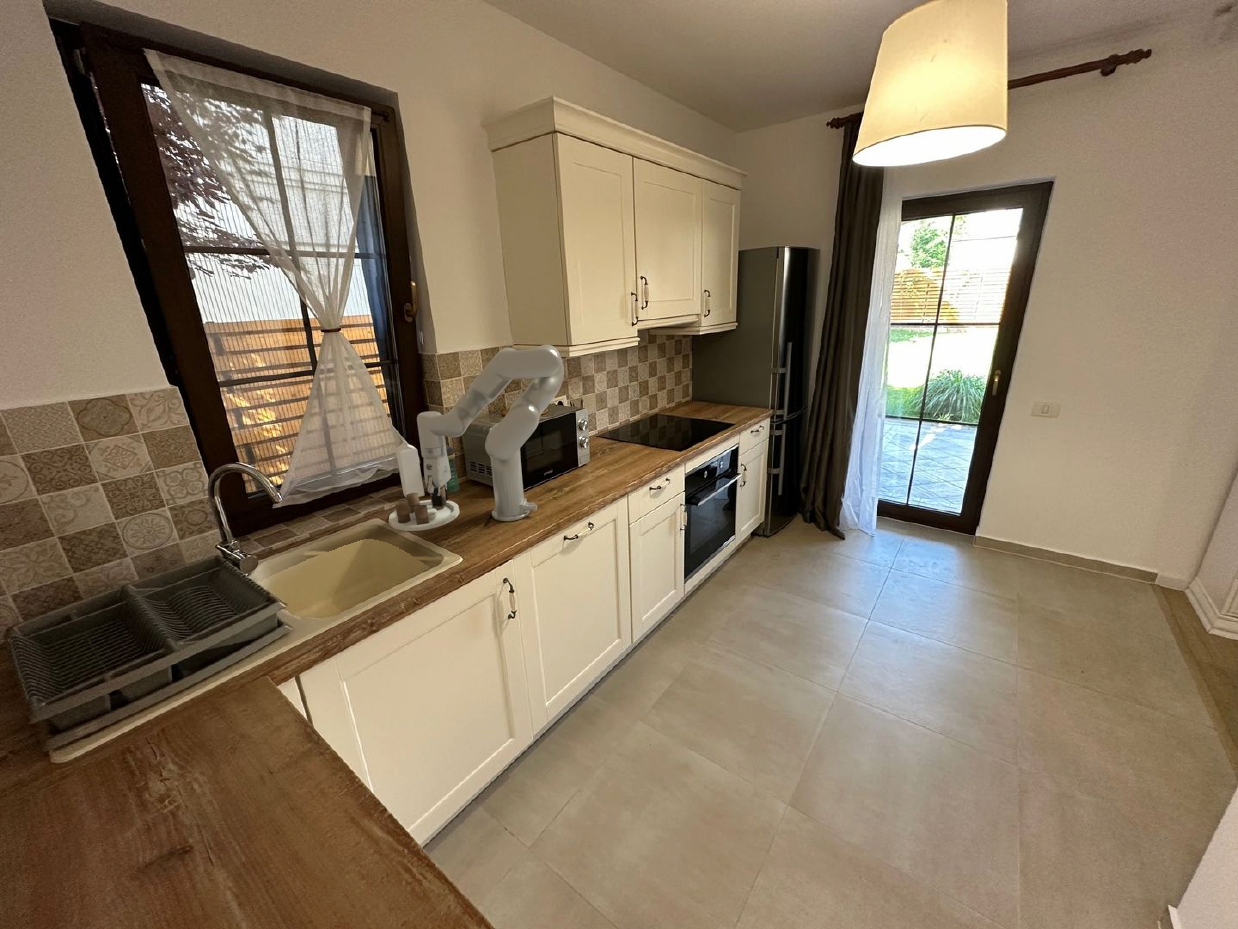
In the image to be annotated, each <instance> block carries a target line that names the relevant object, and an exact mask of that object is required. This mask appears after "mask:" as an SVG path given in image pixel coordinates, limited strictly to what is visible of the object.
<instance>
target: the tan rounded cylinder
mask: <svg viewBox="0 0 1238 929" xmlns="http://www.w3.org/2000/svg"><path fill="white" fill-rule="evenodd" d="M433 489H434V490H437V488H433ZM440 495H442V501H443V506H444V505H446V504H447V503H446V495H445V487H444V486H442V487H441V488H440Z"/></svg>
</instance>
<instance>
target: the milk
mask: <svg viewBox="0 0 1238 929" xmlns="http://www.w3.org/2000/svg"><path fill="white" fill-rule="evenodd" d="M395 453H396V457H397V458H396V459H397V464H398V470H399V476H400V481H401V487H402V492H403V495H404V497H405V498H406V495H407V494H409V493H418V496H419V498H420V497H424V496H425V490H424V484H423V478H422V477H423V476H422V472H421V471H422V470H421V466H420V458H419V454H418V453H419V452H418V449H417V448H416V447H415V446H413V445H411V444H408V442H407V441H406V440H405V439H403V438H402V443H401V444H400V445H399V446H398V447H396V448H395Z"/></svg>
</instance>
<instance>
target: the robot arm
mask: <svg viewBox="0 0 1238 929" xmlns="http://www.w3.org/2000/svg"><path fill="white" fill-rule="evenodd" d="M564 376H565V368H564V362H563V359H562V357H561V354H560V351H559V350H558V349H557V348H556V347H555V346H553V345H551V344H542V345H540V346H538V347H537V348H531V349H520V350H519V349H514V348H512V347H504V348H502V349H500V350H499V351H498V352H496V354H495V355H494V356H493V358H492V359H491V360H490V361H489V362H488V364H487V365H485V367H484V368H483V369H482V370H481V371H480V372H479V374H478V375H477V376H476V377H475V378H474V379H473V381H471V383H470V385H469V387H468V389H467V391H465V393H464V394H463V395H462V396H461V398H460V399H459V400H458V401H457V402H456V403H455V404H454V405H453V406H452V407H451V409H450V410H449V411H448V412H447V413H445V414H441V412H440V411H433V410H432V411H431V410H430V411H423V412H420V413H418V415H417V417H416V422H417V423H416V424H417V430H418V437H419V443H420V444H419V445H420V451H421V452H420V454H421V457H422V458H423V473H424V474H423V476H424V483H425V486H426V488H427V492H428V493H429V494H430V493H431V496H432V504H433V506H435V507H442V506H443V501H442V495H440V488H441V487H442V486H444V487H445V495H446V501H449V497H448V494H449V493H448V494H447V490H446V489H447V482H448V481H449V480H450V478H451V472H450V466H449V461H448V456H447V451H446V445H447V444H446V437H448V438H457V437H461V436H462V435H463V434H465V433H466V430H467V429H468V427H469V426H470V424H471V423H473V421H474V420H475V419H476V418H477V416H478V415H479V414H480V413H481V412H482V411H483V410H484V408H486V407H487V406H488V405H489V404H491V403H493V402H494V401H495V400H496V399H497V398H498V397H499V395H500V394H502V392H503V391H504V390H505V389H506V388H507V386H508V385H509V384H510V383H511V382H512V381H513V380H525V379H526V380H528V379H532V381H531V382H530V383H529V385H528V386H527V387H526V389H525V390H524V391H523V392H522V393H521V395H520V396H519V397H518V398H517V399H516V400H515V401H514V402H513V403H512V404H511V405H510V408H509V410H508V412H507V413H506V414H505V415H504V417H503V418H502V419H501V420H500V421H499V422H498V423H495V424H494V425H493V426H492V427H491V428H490V429H489V432H488V434H487V435H486V436H487V437H486V439H485V441H484V442H485V443H484V449H485V451H486V453H487V455H488V456H489V457H490V465H491V477H492V484H493V494H494V502H495V503H494V505H495V508H494V509H492V510H491V517H492V518H493V519H495V520H497V521H501V522H512V521H513V522H514V521H518V520H521V519H523V518H525V517H527V516H528V515H529V514H530V511H537V510H538V505H537V504H536V503H535V502H528V501H527V497H525V496H524V495H525V494H524V484H523V474H522V462H521V447H523V445H524V444H525V443H526V442H527V440H528V439H529V438H530V437H531V436H532V434H533V433H534V432H535V430H536V429H537V427H538V425H539V424H540V417H541V415H542V414H543V412H544V411H545V410H546V409H547V408H548V406H549V405H550V404H551V402H552V401H553V400H554V398H555V397H556V396H557V394H558V393H559V391H560V390H561V387H562V385H563V383H564V382H563V381H564ZM433 485H435V486H433ZM433 488H437V490H434V489H433ZM431 496H430V497H431Z"/></svg>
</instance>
